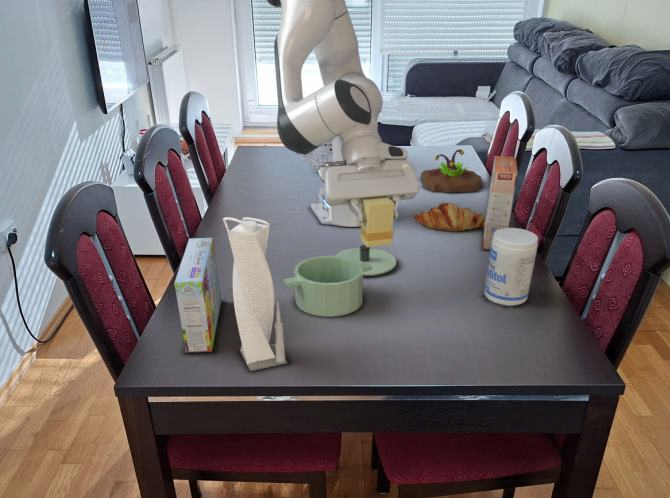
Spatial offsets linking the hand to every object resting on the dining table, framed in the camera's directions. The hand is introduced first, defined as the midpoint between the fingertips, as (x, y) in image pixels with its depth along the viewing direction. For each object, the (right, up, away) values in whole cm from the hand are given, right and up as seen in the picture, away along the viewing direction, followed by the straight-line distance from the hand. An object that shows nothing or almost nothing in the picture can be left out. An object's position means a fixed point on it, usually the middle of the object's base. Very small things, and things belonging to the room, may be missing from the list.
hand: (378, 220), depth 133 cm
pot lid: (-2, -5, +25) cm, 26 cm away
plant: (+28, +28, +82) cm, 91 cm away
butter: (0, -4, +3) cm, 5 cm away
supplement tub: (+29, -15, +11) cm, 35 cm away
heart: (-15, +34, +91) cm, 98 cm away
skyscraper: (-23, -28, -11) cm, 38 cm away
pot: (-10, -16, +9) cm, 21 cm away
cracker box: (+33, +2, +39) cm, 51 cm away
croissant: (+23, +7, +48) cm, 53 cm away
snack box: (-36, -22, -1) cm, 42 cm away
